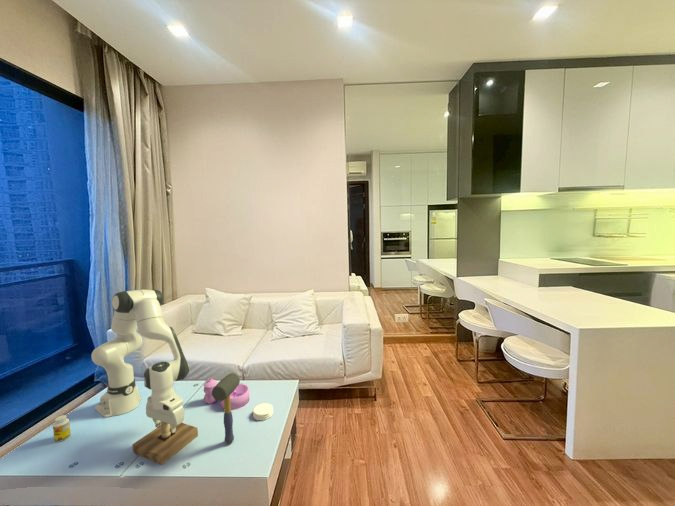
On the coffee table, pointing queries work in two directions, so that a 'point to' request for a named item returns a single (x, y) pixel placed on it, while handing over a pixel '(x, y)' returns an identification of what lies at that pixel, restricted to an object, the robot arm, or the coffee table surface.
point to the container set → (236, 397)
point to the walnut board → (164, 443)
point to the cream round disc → (263, 411)
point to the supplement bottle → (61, 428)
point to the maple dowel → (165, 431)
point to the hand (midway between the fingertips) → (165, 429)
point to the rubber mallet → (226, 402)
